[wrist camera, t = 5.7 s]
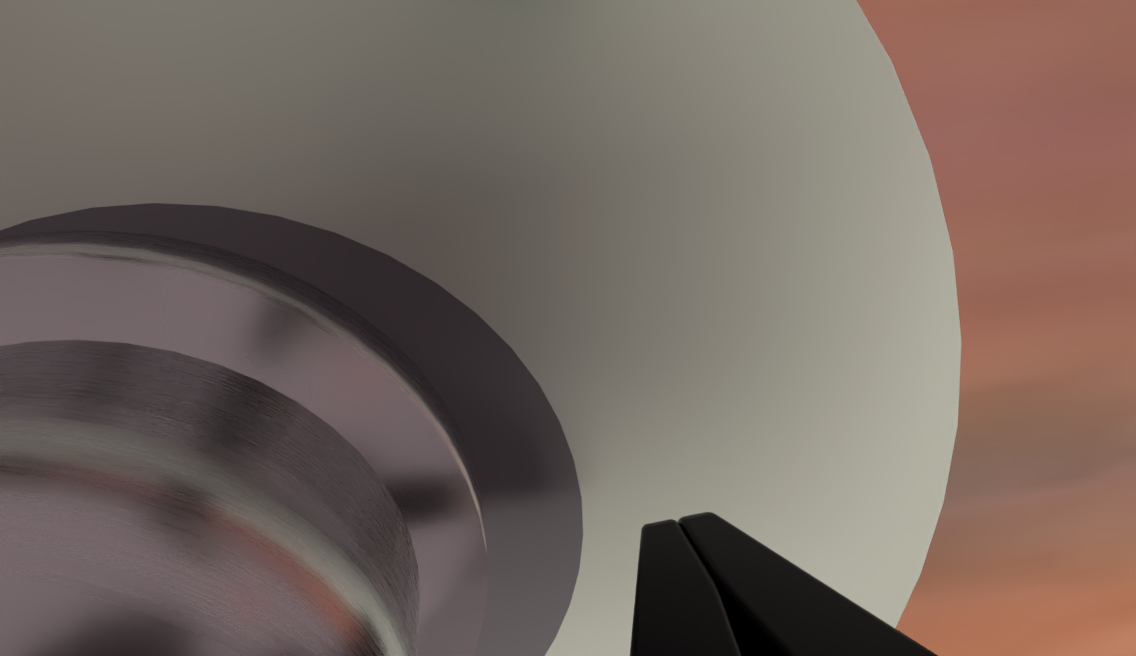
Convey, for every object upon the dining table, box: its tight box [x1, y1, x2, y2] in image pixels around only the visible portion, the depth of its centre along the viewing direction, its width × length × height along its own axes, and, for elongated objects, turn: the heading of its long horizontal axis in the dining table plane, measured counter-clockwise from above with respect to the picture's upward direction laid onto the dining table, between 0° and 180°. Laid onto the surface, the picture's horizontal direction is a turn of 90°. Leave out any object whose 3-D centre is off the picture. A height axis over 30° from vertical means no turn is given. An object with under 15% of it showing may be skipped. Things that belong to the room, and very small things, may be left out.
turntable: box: [0, 0, 961, 656], centre depth 8 cm, size 20×20×5 cm
